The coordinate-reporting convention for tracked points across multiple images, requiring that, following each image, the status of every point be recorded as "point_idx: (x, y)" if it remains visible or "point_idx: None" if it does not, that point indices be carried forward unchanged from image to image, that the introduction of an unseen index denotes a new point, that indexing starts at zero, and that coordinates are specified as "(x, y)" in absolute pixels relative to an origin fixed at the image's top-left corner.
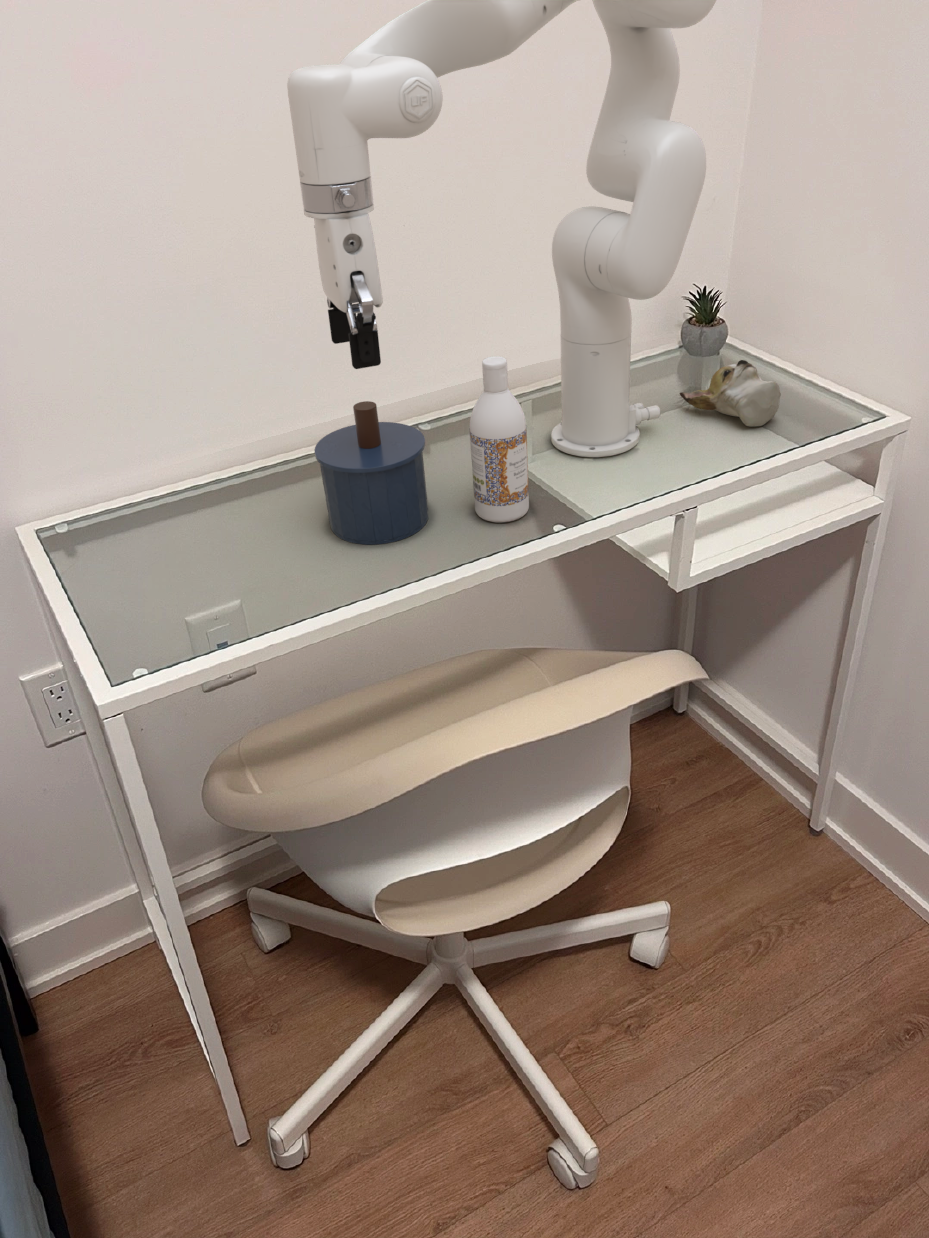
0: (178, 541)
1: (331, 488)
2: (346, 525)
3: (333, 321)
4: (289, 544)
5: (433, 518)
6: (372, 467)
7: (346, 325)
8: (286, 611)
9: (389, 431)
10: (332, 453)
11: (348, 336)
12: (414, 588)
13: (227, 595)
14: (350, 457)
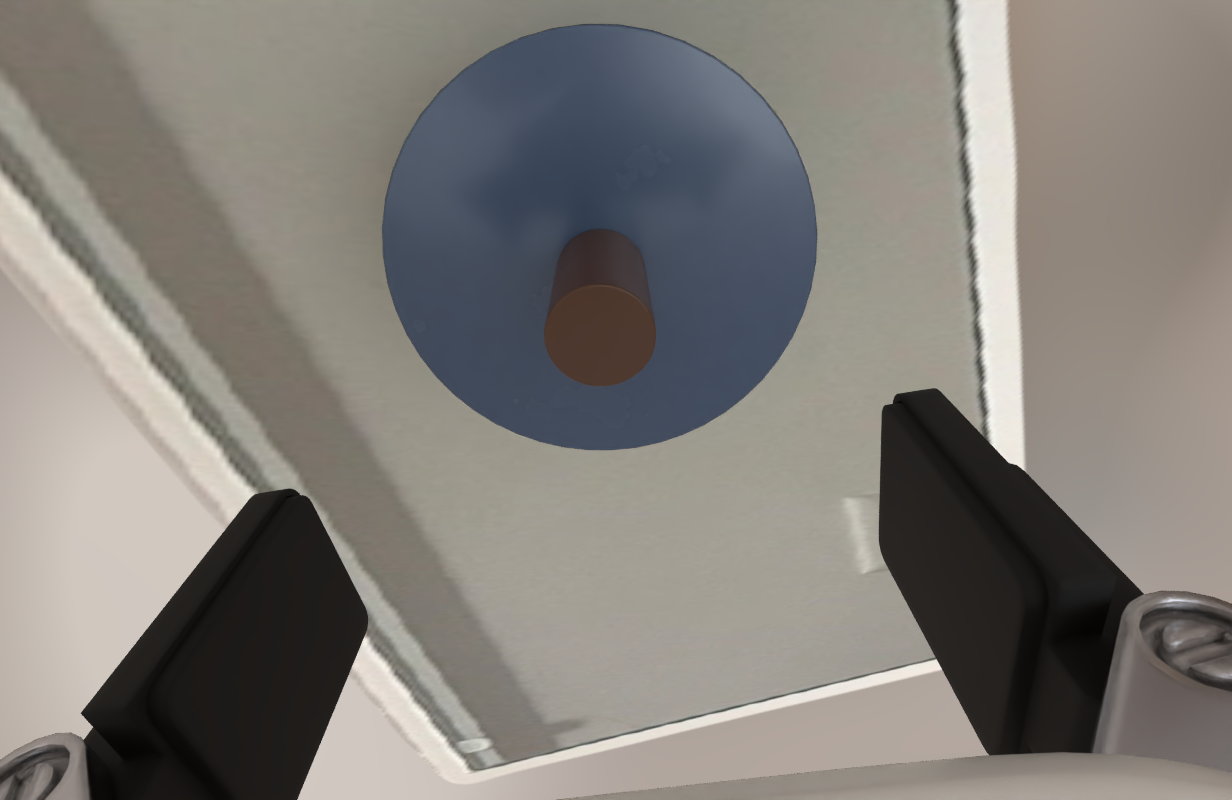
0: (575, 598)
1: None
2: None
3: (307, 754)
4: None
5: (637, 26)
6: (811, 280)
7: (283, 640)
8: None
9: (497, 182)
10: (639, 400)
11: (316, 567)
12: (994, 144)
13: (818, 518)
14: (695, 347)
